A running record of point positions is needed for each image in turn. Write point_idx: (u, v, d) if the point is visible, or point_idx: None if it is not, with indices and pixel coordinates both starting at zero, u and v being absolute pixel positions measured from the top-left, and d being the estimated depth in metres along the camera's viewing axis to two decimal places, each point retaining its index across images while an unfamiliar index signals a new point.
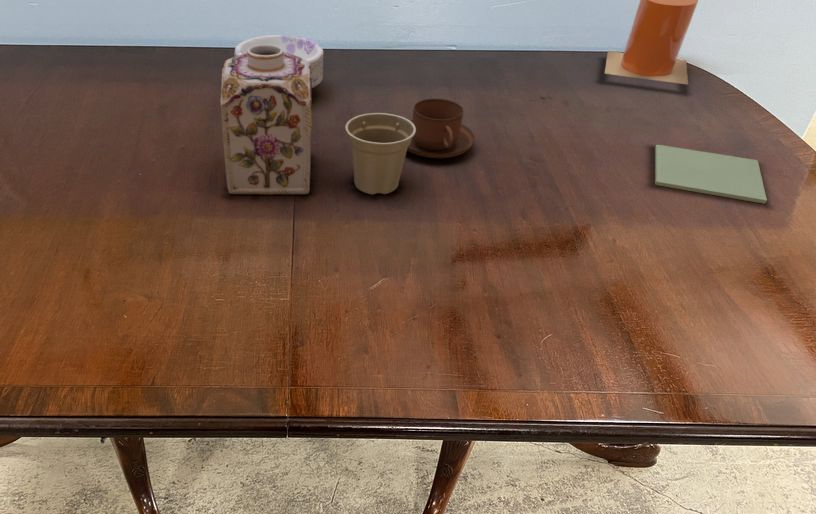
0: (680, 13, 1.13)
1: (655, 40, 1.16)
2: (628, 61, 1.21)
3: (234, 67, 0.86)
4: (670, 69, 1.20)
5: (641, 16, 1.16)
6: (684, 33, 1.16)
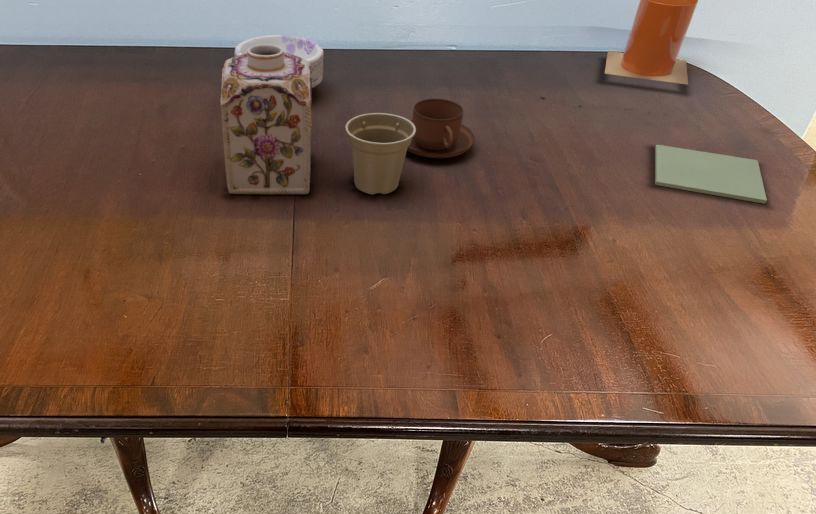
0: (680, 13, 1.13)
1: (655, 40, 1.16)
2: (628, 61, 1.21)
3: (234, 67, 0.86)
4: (670, 69, 1.20)
5: (641, 16, 1.16)
6: (684, 33, 1.16)
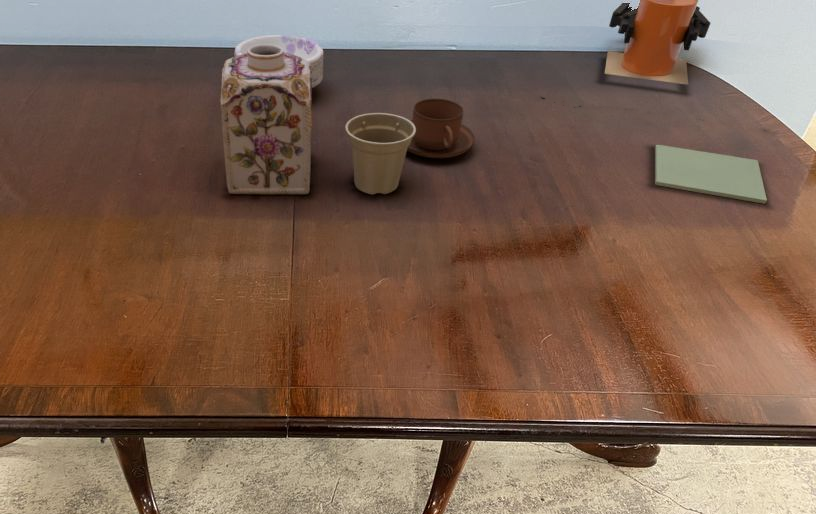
0: (680, 13, 1.13)
1: (655, 40, 1.16)
2: (628, 61, 1.21)
3: (234, 67, 0.86)
4: (670, 69, 1.20)
5: (641, 16, 1.16)
6: (684, 33, 1.16)
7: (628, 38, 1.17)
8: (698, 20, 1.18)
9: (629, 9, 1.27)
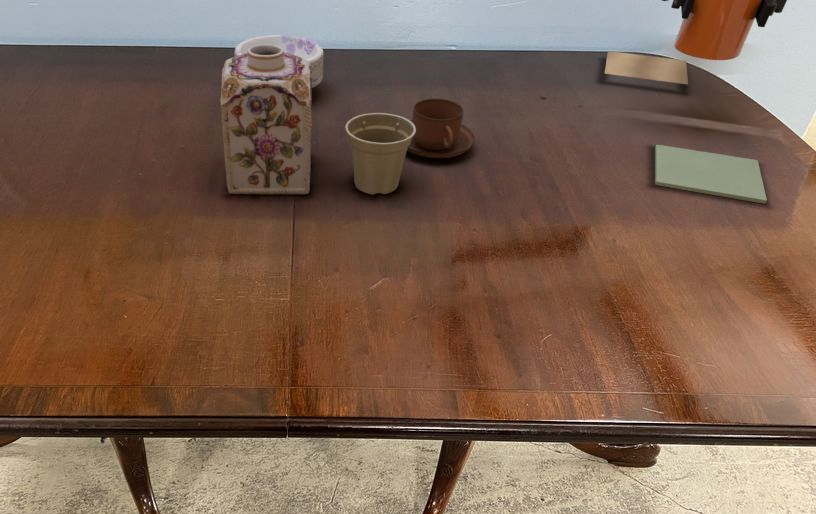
0: None
1: (721, 15, 0.93)
2: (685, 42, 0.98)
3: (234, 67, 0.86)
4: (738, 52, 0.97)
5: None
6: (758, 6, 0.93)
7: (687, 12, 0.94)
8: None
9: None
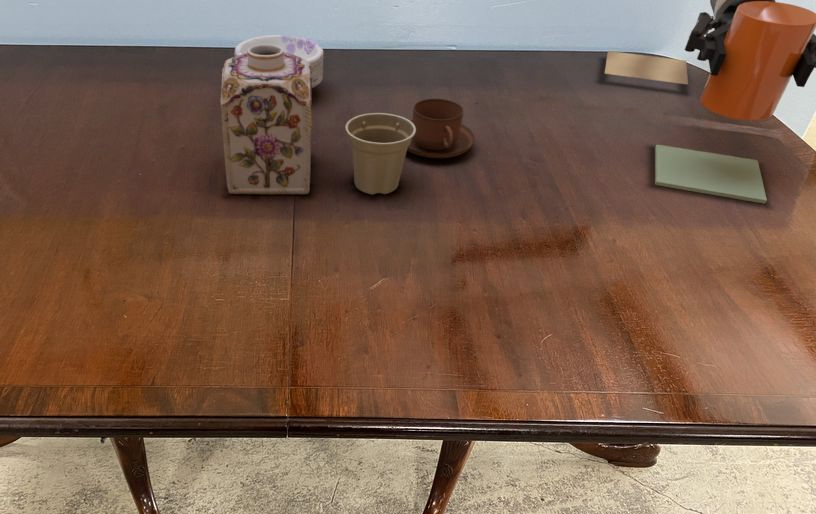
0: (796, 36, 0.80)
1: (756, 72, 0.83)
2: (713, 100, 0.88)
3: (234, 67, 0.86)
4: (772, 111, 0.87)
5: (737, 39, 0.83)
6: (797, 62, 0.83)
7: (717, 69, 0.84)
8: (814, 44, 0.85)
9: (709, 26, 0.94)
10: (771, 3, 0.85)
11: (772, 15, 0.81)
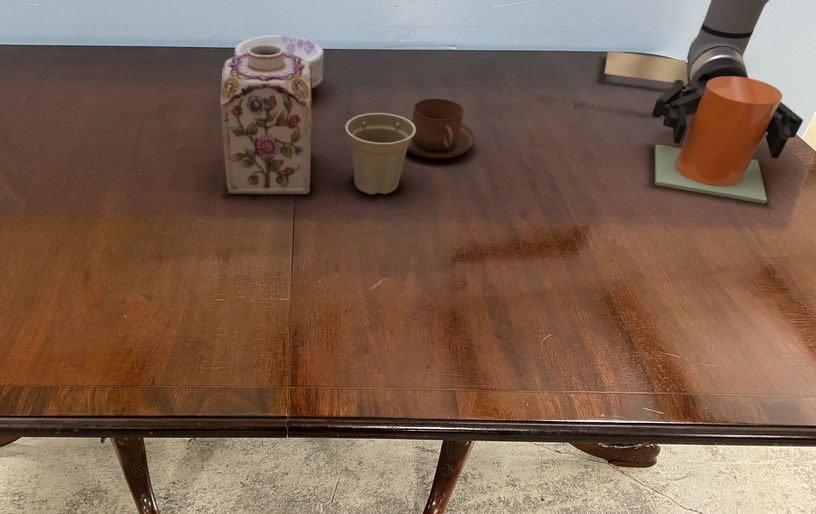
0: (760, 113, 0.86)
1: (724, 144, 0.90)
2: (686, 166, 0.95)
3: (234, 67, 0.86)
4: (741, 177, 0.93)
5: (706, 113, 0.90)
6: (762, 135, 0.89)
7: (679, 138, 0.92)
8: (788, 117, 0.91)
9: (682, 93, 1.01)
10: (738, 78, 0.91)
11: (738, 93, 0.88)
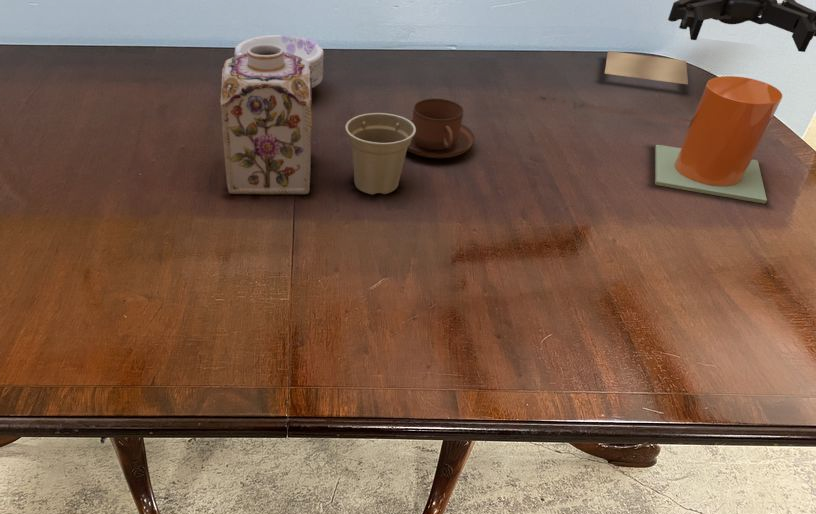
0: (760, 113, 0.86)
1: (724, 144, 0.90)
2: (686, 166, 0.95)
3: (234, 67, 0.86)
4: (741, 177, 0.93)
5: (706, 113, 0.90)
6: (762, 135, 0.89)
7: (696, 34, 0.95)
8: (814, 14, 0.94)
9: (702, 2, 1.04)
10: (738, 78, 0.91)
11: (738, 93, 0.88)
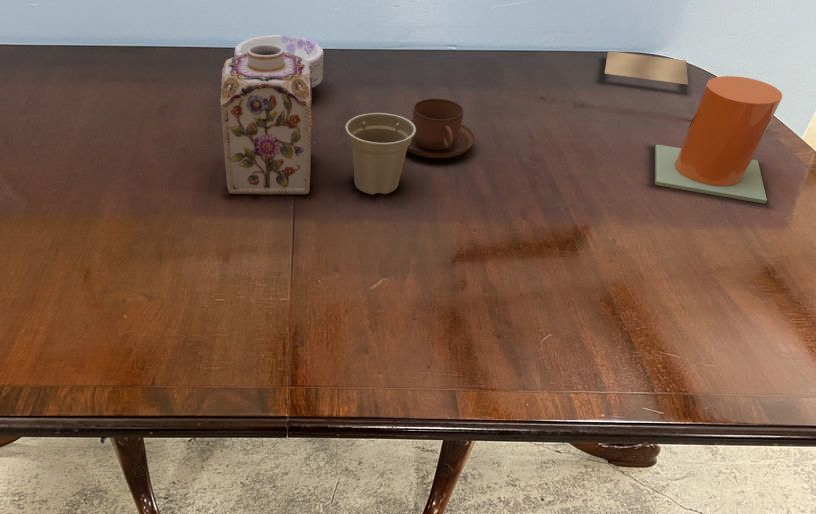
0: (760, 113, 0.86)
1: (724, 144, 0.90)
2: (686, 166, 0.95)
3: (234, 67, 0.86)
4: (741, 177, 0.93)
5: (706, 113, 0.90)
6: (762, 135, 0.89)
7: None
8: None
9: None
10: (738, 78, 0.91)
11: (738, 93, 0.88)
